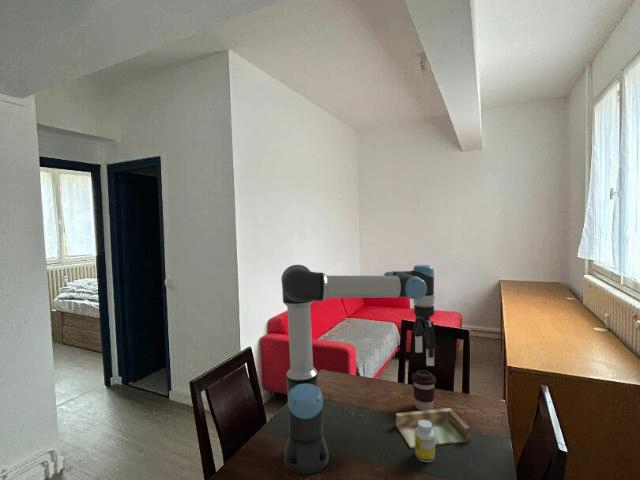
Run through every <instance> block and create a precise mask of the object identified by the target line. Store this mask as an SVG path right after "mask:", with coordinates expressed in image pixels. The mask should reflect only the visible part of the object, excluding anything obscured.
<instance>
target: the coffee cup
mask: <svg viewBox="0 0 640 480" xmlns="http://www.w3.org/2000/svg"><path fill="white" fill-rule="evenodd" d="M411 381H412V382H413V385H412V386H413V397H414V404H415V408H416V409H418V411H425V410H434V408H433V407H434V400H435V391H436V387H435V384H436V383H437V378H436V376H435V375H434V374H433V373H431V372H430V371H428V370H424V369H423V370H421V369H420V370H417V371H415V373H412V375H411Z"/></svg>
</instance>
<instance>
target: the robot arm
mask: <svg viewBox="0 0 640 480" xmlns="http://www.w3.org/2000/svg"><path fill="white" fill-rule="evenodd" d="M434 270H435V269H434V267H433V266H432V265H429V264H417V265H414V266H413V269H412V270H409V271H408V270H407V271H405V270H403V271H399V270H398V271H396V270H395V271H386V272H384V274H383V275H326V274H325V273H324V272H317V271H316V272H315V271H312V270H310V269H309V268H308V267H307V266H305V265H303V264H293V265H290V266H289V267H286V269H285V270H284V271H283V273H282V275H281V278H280V279H281V288H282V302H283V304H284V305H285V306H286V307H287V327H288V347H289V348H288V349H289V350H288V351H289V369H288V370H287V371H286V393H287V409H288V412H287V413H288V439H287V442H286V447H285V449H284V452H283V459H284V464H285V467H286V468H287V469H288V470H289V471H291V472H293V473H296V474H299V475H310V474H311V475H312V474H314V473H317V472H320V471H322V470H324V468H325V467H327V465H328V463H329V460H330V459H329V455H330V453H329V449H328V445H327V443H326V440H325V437H324V413H323V409H324V408H323V407H324V406H323V405H324V397H323V393H322V391H321V389H320V387H319V382H318V381H319V379H318V370H317V369H316V368H315V367H314V361H313V360H314V359H313V339H312V338H313V337H312V320H311V319H312V316H311V315H312V314H311V304H313V302H324V301H325V299H343V298H344V299H347V298H350V299H353V298H354V299H355V298H357V299H358V298H359V299H360V298H371V299H373V298H408V299H411V300H413V304H414V305H413V314H414V315H415V318H414V324H413V329H412V330H413V331H412V332H413V334H414V340H415V342H414V344H415V345H414V346H415V347H414V348H415V349H414V351H415V353H417V354H419V353H423V336H424V339H425V343H426V347H425V351H426V352H425V357H426V361H425V363H426V366H427V367H429V366H430V367H434V366H435V350H436V349H437V348H438V347H437V341H436V335H435V329H434V321H433V320H431V319H430V318H431V317H433V316H434V315H435V306H434V304H435V299H436V296H435V272H434Z"/></svg>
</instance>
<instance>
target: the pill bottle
mask: <svg viewBox="0 0 640 480" xmlns="http://www.w3.org/2000/svg"><path fill="white" fill-rule="evenodd" d="M414 449H415V450H414V455H415V457H416V458H417V459H418V460H419V461H420V462H424V463H431V462H433V461H434V460H435V458H436V445H435V433H434V431H433V430H432V423H431V422H429V421H427V420H419V421H418V428H417V429H416V430H415V448H414Z"/></svg>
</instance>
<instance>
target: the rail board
mask: <svg viewBox="0 0 640 480" xmlns="http://www.w3.org/2000/svg"><path fill="white" fill-rule="evenodd" d="M419 420H427V421H429V422H431V423H432V430H433V431H434V433H435V446H441V445H442V446H443V445H449V444H451V445H452V444H458V443H467V442H471V439H472V438H471V437H472V436H471V432H472V431H471V427H470V426H469V425H468V424H467V422H466V421H465V420H464V419H462V418H461V417H460V416H459V415H458V414H457V413H456V412H455V411H454V410H453V409H452V408H450V407H446V408H444V407H443V408H437V409H434V408H433V409H432V410H425V411H421V410H417V411H407V412H406V411H405V412H398V413H395V426H396V428H397V430H398V431H399V433H400V435H401V436H402V437H403V439H404V440H405V442H406V444H407V445H408V447H409V448H410V449H415V430H416V429H417V428H418V421H419Z"/></svg>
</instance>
